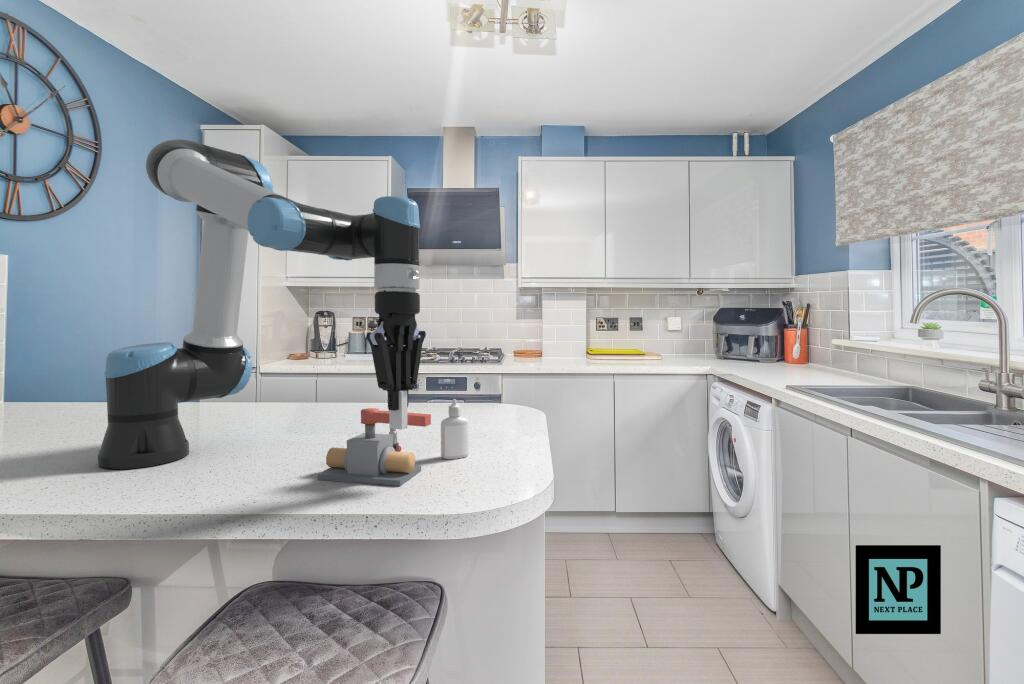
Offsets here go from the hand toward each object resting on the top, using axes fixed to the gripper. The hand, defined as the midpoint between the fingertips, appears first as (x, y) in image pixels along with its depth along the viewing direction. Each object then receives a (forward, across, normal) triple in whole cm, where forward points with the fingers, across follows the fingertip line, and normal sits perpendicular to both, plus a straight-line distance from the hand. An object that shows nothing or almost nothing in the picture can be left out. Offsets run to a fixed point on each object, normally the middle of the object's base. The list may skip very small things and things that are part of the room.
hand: (398, 427), depth 88 cm
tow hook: (+10, +12, +16) cm, 23 cm away
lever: (0, +2, +3) cm, 4 cm away
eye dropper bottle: (+10, +19, +1) cm, 22 cm away
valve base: (+10, +2, +8) cm, 13 cm away
